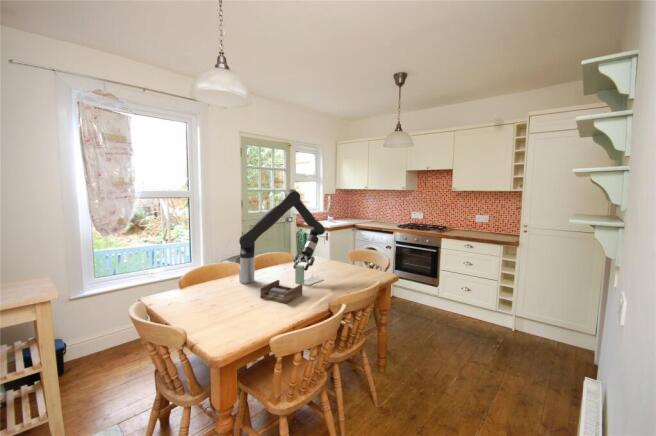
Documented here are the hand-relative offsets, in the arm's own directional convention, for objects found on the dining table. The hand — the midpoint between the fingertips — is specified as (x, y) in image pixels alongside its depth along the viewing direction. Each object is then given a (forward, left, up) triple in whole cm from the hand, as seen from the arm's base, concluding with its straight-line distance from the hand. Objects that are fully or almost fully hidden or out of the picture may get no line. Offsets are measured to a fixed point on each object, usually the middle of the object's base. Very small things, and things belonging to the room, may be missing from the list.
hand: (299, 269), depth 187 cm
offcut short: (+3, -27, -7) cm, 28 cm away
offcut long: (+4, -27, -9) cm, 29 cm away
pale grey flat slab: (0, +3, -12) cm, 12 cm away
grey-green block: (0, 0, -10) cm, 10 cm away
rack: (+4, -24, -11) cm, 27 cm away
